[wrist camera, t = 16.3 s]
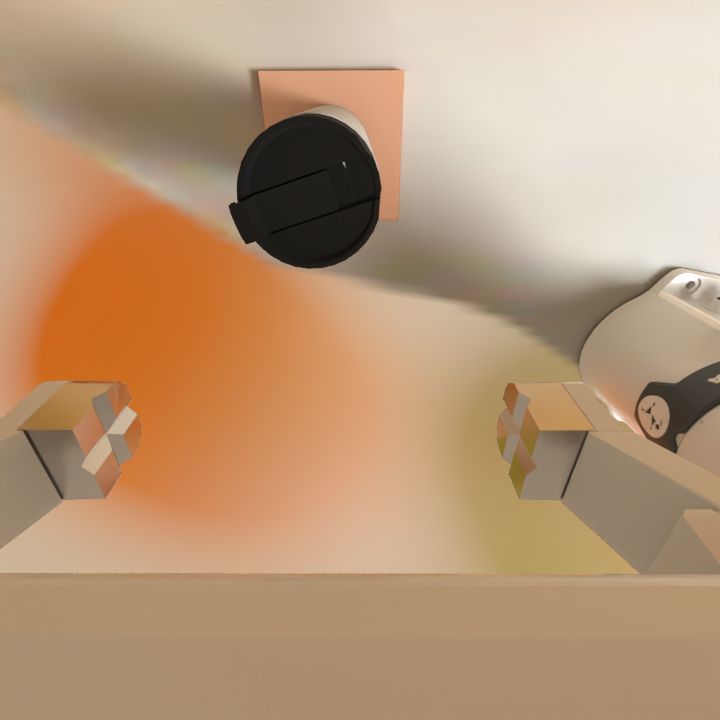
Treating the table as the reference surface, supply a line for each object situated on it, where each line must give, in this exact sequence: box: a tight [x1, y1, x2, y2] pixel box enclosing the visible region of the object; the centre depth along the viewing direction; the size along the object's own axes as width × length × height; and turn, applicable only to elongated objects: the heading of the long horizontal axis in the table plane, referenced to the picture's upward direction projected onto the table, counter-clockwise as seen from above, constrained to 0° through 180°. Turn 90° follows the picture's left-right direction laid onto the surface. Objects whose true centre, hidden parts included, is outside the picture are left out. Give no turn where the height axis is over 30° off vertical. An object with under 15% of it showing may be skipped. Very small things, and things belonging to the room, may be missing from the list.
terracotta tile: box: [258, 70, 404, 220], centre depth 35 cm, size 11×11×1 cm
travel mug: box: [229, 105, 382, 269], centre depth 26 cm, size 6×7×20 cm
